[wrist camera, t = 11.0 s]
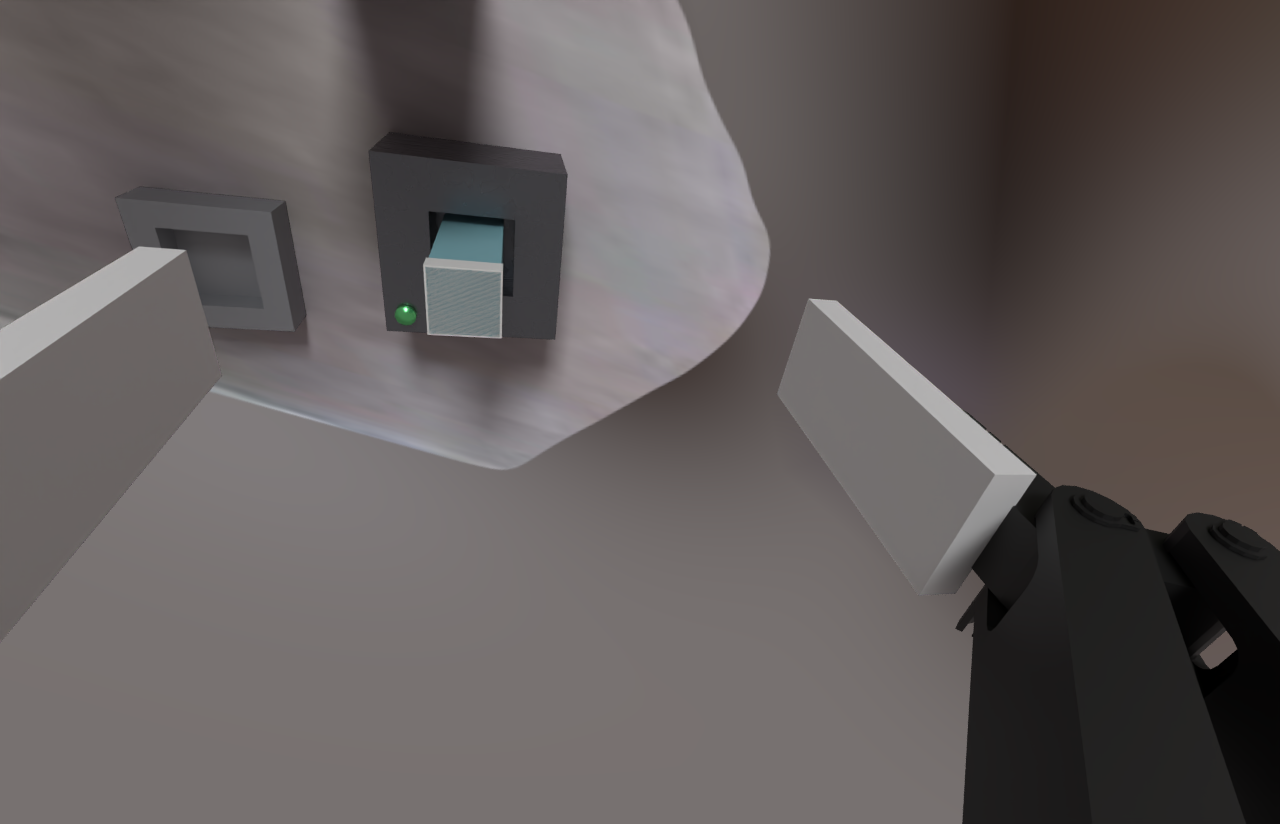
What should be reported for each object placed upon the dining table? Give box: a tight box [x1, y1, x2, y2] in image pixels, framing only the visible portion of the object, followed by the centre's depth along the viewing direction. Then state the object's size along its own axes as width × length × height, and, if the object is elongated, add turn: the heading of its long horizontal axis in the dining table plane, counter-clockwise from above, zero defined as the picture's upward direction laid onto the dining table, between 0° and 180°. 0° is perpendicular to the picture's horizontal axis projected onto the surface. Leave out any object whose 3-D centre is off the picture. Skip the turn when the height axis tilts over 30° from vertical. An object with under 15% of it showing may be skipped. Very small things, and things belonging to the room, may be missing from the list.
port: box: [369, 132, 567, 340], centre depth 42 cm, size 12×12×7 cm
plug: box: [423, 213, 504, 338], centre depth 37 cm, size 4×4×12 cm
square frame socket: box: [115, 187, 306, 332], centre depth 41 cm, size 9×9×3 cm
